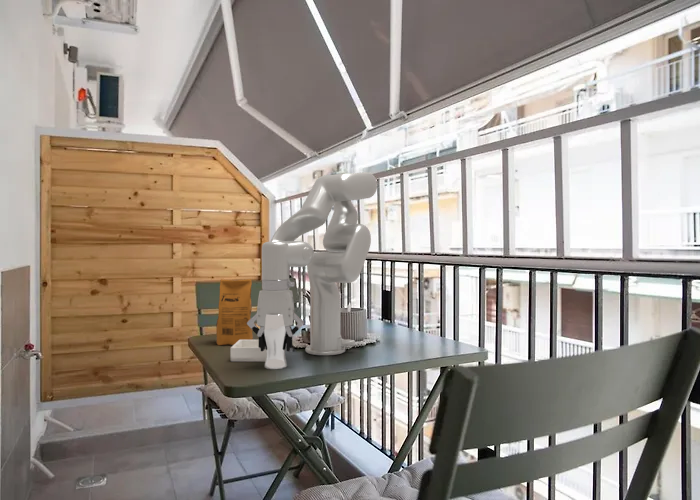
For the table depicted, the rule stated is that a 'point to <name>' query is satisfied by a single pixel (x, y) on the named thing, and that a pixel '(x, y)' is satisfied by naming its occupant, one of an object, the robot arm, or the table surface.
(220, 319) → the coffee package
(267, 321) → the beer glass
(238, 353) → the tray
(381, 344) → the table surface
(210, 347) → the table surface
